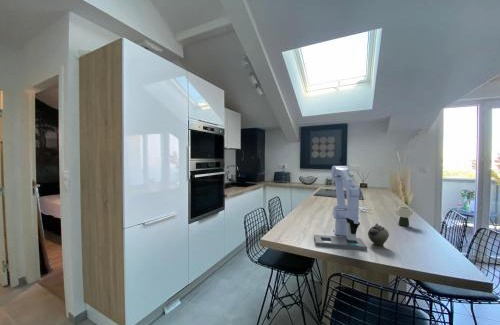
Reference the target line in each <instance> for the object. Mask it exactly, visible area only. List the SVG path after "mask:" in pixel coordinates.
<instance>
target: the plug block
mask: <svg viewBox="0 0 500 325" xmlns="http://www.w3.org/2000/svg"><path fill="white" fill-rule="evenodd" d="M345 237H347V239H348V240H356V238H357V233H356V234H351V229H350V224H349V223H347V234H346V236H345Z"/></svg>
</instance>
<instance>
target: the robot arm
mask: <svg viewBox="0 0 500 325" xmlns="http://www.w3.org/2000/svg"><path fill="white" fill-rule="evenodd" d="M330 172H331V178H332V180H334V186H335V195H336V203H337V204H336V205H335V206H334V207H333V209H332V216H333V219H334V220H335V221H334V229H333V232H334V234H335V236H340V237H346V234H347V223H349V224H350V229H351V234H356V235H357V231H358V228H359V226H360V225H361V223H360V221H359V219H360V217H359V214H360V213H359V212H360V211H359V209H360V204H359V203H360V198H361V196H362V190H361V188H360V187H359V186H357V185H356V183H355V182H354V180H353V179H352V178H350V168H349V166H348V165H332V166H331V169H330ZM344 188H345V189H344ZM345 190H346V192H345ZM345 196H346V198H345ZM346 200H347V204H346Z"/></svg>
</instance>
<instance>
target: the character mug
mask: <svg viewBox="0 0 500 325" xmlns="http://www.w3.org/2000/svg"><path fill="white" fill-rule="evenodd" d="M395 214H396V215H398V216H399V219H398V225H400V226H403V227H410V219H409V218H411V216H413V210H412V209H411V208H410V207H407V206H398V209H397V210H396V212H395Z"/></svg>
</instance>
